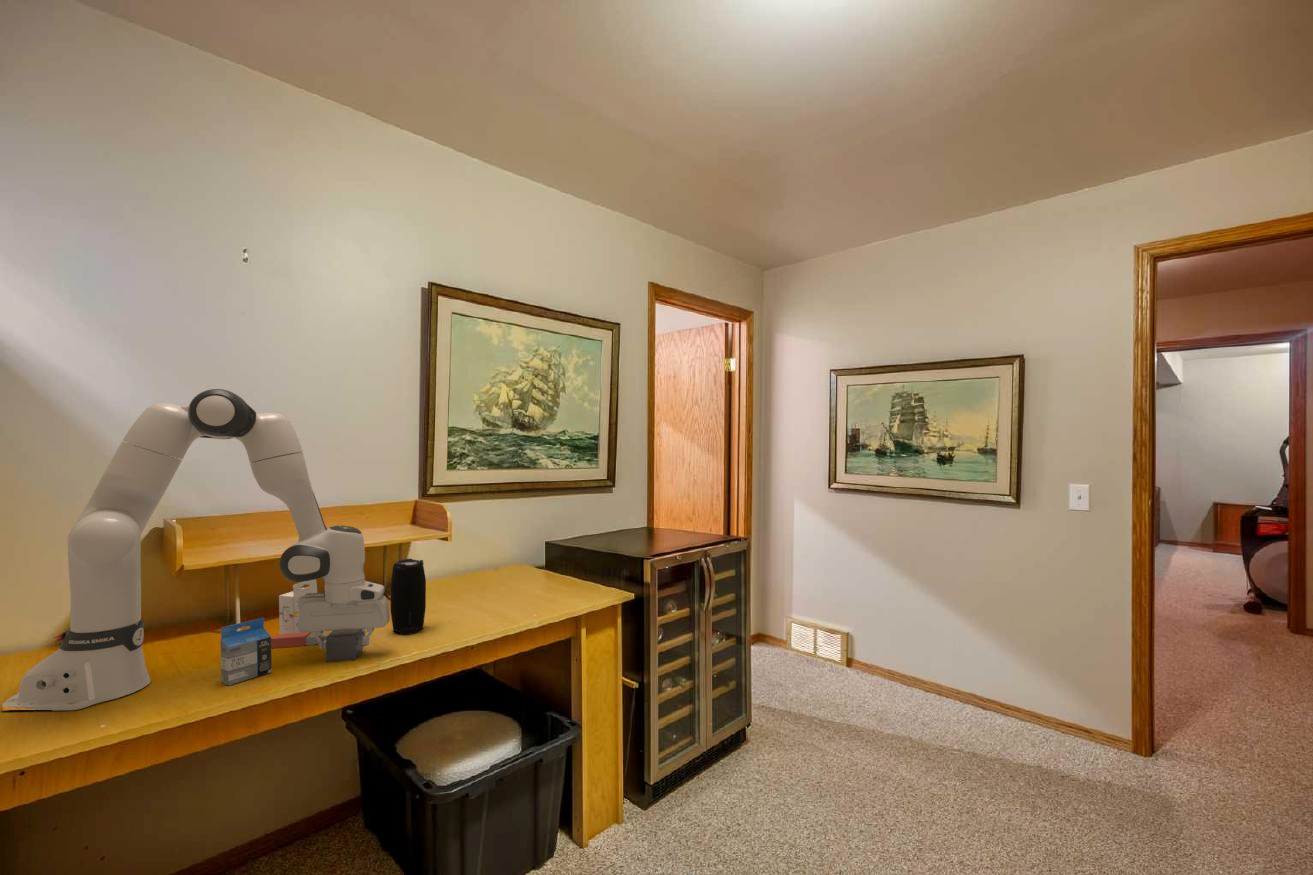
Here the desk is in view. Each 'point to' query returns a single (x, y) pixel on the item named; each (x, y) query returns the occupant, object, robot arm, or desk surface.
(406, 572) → the portable speaker
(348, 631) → the dark grey block
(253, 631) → the label tape box
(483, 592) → the desk surface
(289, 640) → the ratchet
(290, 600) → the ink cartridge box
